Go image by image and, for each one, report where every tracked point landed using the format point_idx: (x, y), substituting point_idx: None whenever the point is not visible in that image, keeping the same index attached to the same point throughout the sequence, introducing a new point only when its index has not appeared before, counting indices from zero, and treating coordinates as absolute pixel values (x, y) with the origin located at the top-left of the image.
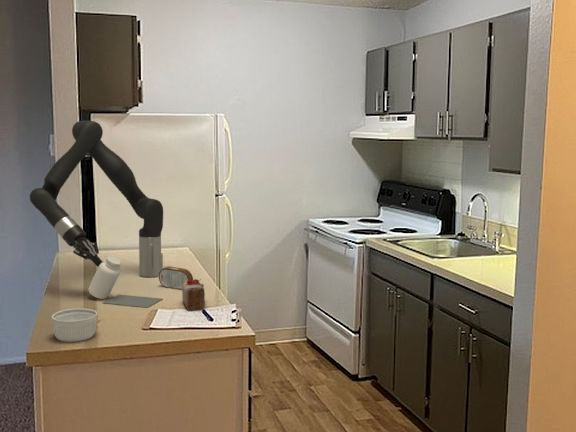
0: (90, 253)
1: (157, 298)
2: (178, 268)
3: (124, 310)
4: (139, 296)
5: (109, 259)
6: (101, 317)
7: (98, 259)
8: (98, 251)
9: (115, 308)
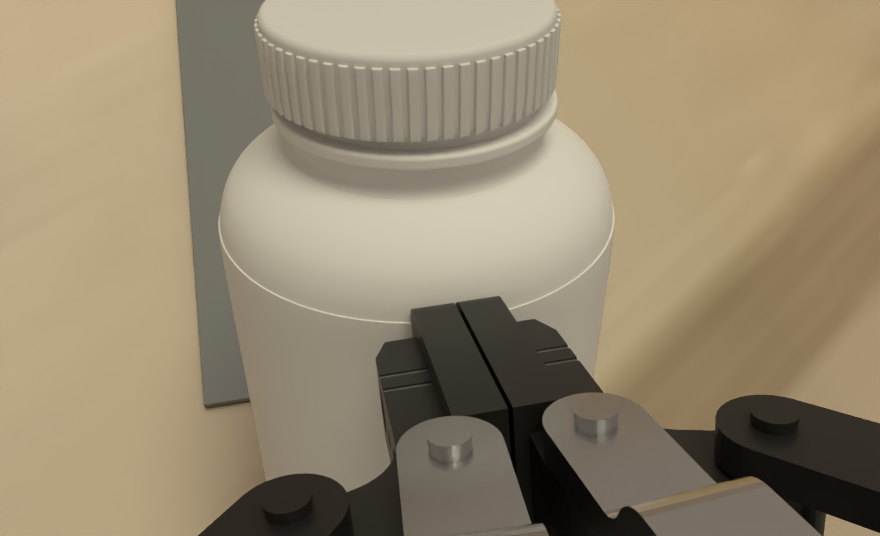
0: (686, 477)
1: (188, 21)
2: None
3: (610, 64)
4: (191, 181)
5: (518, 11)
6: (852, 97)
7: (505, 339)
8: (238, 517)
9: (611, 151)
